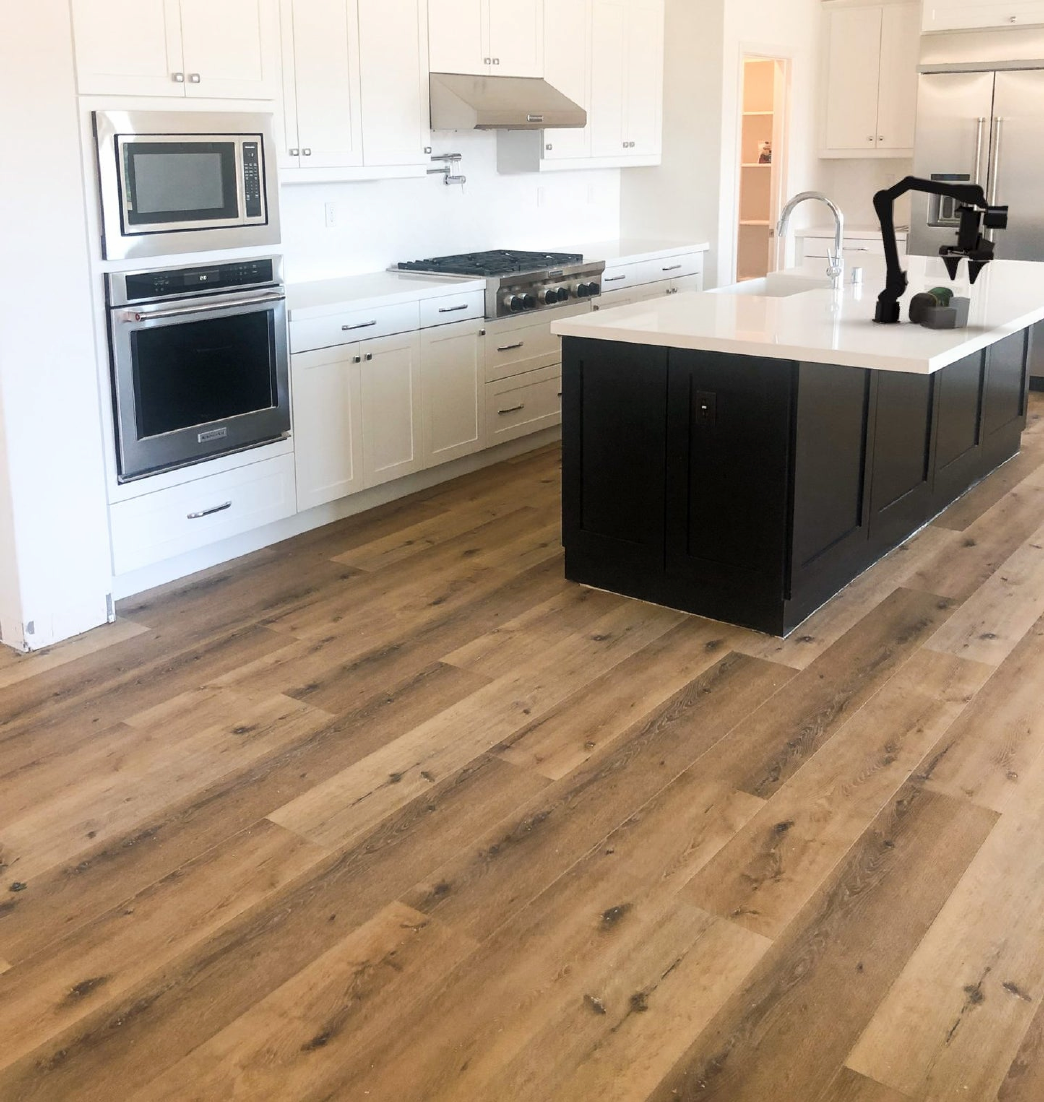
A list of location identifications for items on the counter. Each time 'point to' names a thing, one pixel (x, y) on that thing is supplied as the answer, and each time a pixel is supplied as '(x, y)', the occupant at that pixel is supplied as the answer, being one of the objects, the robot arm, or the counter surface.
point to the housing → (938, 317)
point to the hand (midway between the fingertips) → (962, 282)
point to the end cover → (960, 309)
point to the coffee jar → (928, 302)
